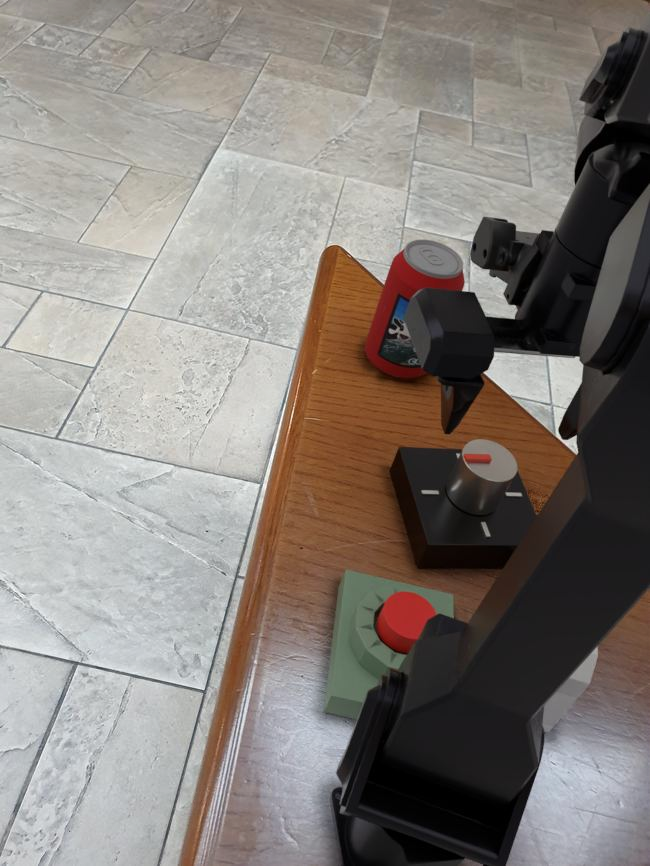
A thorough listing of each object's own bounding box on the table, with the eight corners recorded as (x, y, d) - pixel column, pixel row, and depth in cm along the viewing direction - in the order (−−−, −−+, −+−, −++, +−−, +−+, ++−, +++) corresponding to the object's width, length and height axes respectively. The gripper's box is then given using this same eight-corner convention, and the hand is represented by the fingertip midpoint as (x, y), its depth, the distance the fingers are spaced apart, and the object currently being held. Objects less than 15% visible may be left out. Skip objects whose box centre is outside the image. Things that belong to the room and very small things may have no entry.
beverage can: (385, 389, 79) (424, 283, 71) (349, 344, 83) (382, 238, 75) (442, 377, 82) (486, 274, 74) (405, 334, 86) (443, 231, 78)
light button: (428, 659, 55) (437, 644, 54) (374, 646, 55) (381, 631, 54) (429, 612, 58) (437, 598, 56) (378, 600, 57) (385, 585, 56)
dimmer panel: (534, 568, 68) (550, 544, 65) (416, 568, 65) (429, 543, 63) (497, 474, 74) (510, 449, 72) (388, 471, 72) (399, 444, 70)
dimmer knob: (489, 473, 70) (508, 437, 67) (506, 515, 67) (527, 479, 64) (439, 472, 68) (456, 435, 66) (454, 515, 65) (473, 478, 63)
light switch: (524, 725, 57) (572, 664, 52) (528, 585, 66) (570, 521, 61) (548, 733, 57) (600, 673, 52) (549, 592, 66) (593, 529, 61)
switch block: (443, 739, 55) (463, 709, 53) (323, 712, 55) (337, 681, 52) (444, 611, 63) (462, 579, 60) (338, 586, 62) (351, 553, 59)
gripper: (675, 194, 59) (578, 367, 69) (421, 158, 53) (359, 351, 64) (758, 291, 51) (635, 469, 61) (470, 259, 46) (390, 459, 56)
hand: (504, 432), depth 61 cm, fingers open, 9 cm apart
